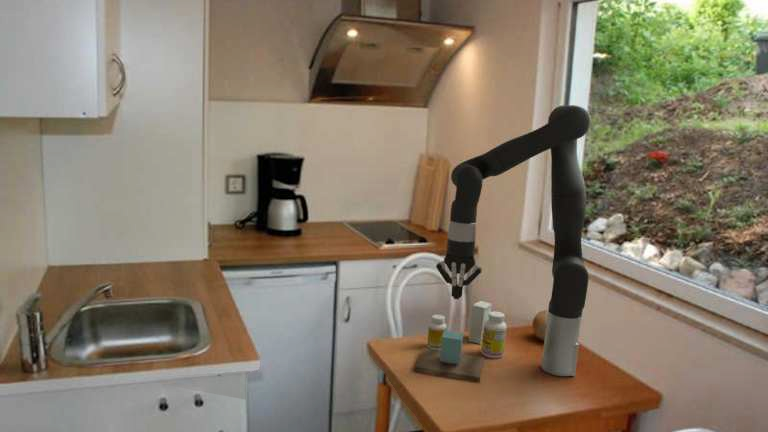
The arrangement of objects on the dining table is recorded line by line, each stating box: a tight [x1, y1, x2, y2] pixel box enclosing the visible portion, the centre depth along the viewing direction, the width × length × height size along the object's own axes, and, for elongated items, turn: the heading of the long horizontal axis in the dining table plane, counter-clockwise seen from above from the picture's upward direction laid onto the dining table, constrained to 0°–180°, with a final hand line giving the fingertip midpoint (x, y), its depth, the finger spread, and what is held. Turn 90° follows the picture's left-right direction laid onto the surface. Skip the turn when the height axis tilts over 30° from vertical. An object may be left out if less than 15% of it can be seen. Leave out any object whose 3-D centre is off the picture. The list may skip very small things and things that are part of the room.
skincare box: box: [468, 300, 492, 345], centre depth 203 cm, size 6×4×12 cm
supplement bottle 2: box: [480, 311, 508, 359], centre depth 193 cm, size 7×7×13 cm
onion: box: [531, 309, 548, 342], centre depth 208 cm, size 10×10×10 cm
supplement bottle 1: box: [426, 314, 448, 351], centre depth 196 cm, size 5×5×10 cm
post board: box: [413, 347, 485, 383], centre depth 183 cm, size 18×14×2 cm
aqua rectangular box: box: [440, 329, 464, 364], centre depth 182 cm, size 5×5×7 cm
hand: (456, 298), depth 179 cm, fingers closed
